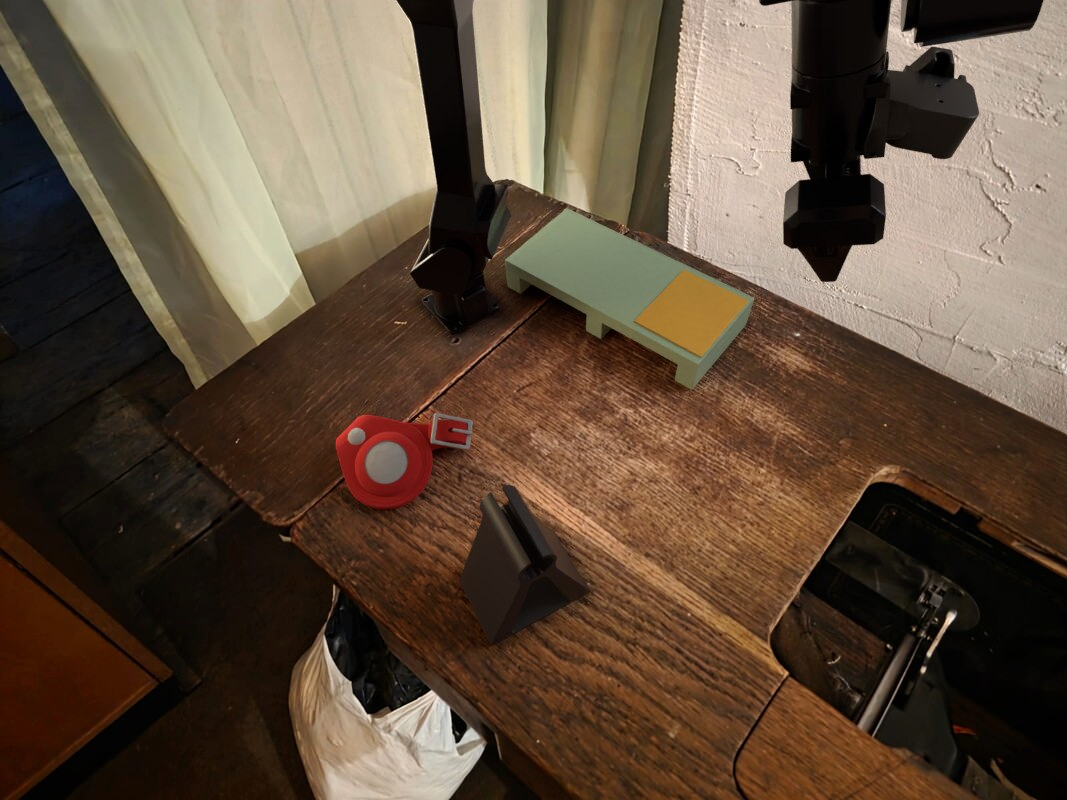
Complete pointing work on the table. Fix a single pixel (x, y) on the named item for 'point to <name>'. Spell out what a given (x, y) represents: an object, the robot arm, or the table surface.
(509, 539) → the phone stand
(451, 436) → the red tape measure
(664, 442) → the table surface
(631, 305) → the shoe shelf
